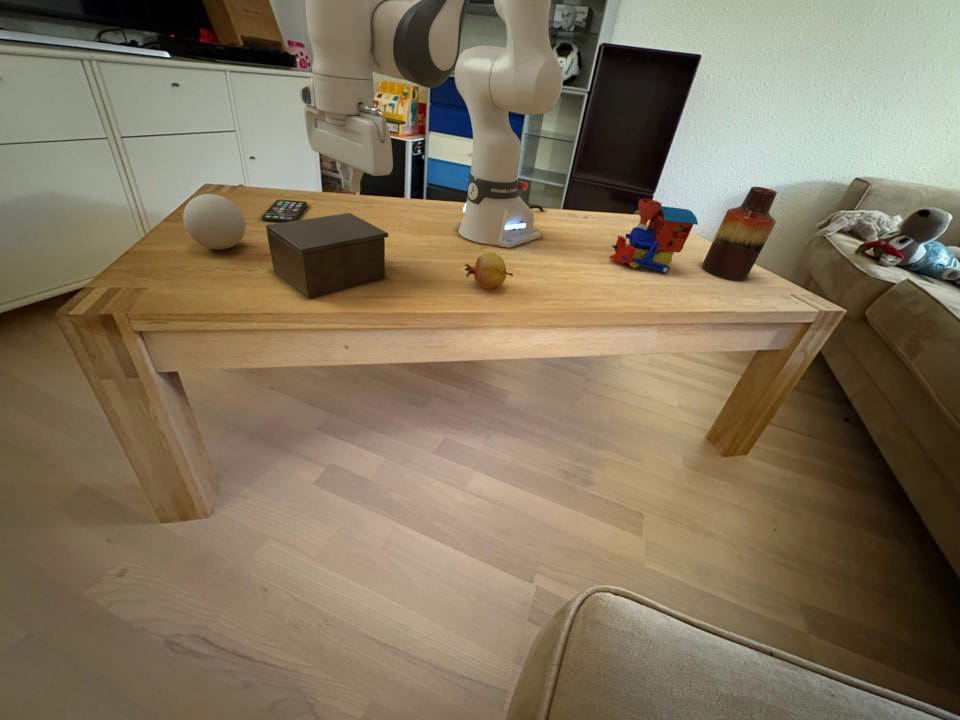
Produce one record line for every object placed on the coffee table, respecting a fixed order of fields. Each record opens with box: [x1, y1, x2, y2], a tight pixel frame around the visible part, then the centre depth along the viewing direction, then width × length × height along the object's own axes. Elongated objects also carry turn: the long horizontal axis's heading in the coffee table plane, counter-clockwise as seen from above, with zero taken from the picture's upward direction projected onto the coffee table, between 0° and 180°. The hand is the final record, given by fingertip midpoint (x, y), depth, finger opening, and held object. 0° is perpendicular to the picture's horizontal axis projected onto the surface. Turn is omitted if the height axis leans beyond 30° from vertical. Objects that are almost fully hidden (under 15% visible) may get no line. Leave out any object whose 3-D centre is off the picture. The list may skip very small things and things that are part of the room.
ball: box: [182, 193, 246, 250], centre depth 79 cm, size 10×10×10 cm
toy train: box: [608, 198, 699, 274], centre depth 99 cm, size 10×16×15 cm, turn 93°
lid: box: [265, 212, 389, 254], centre depth 73 cm, size 16×13×1 cm
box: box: [266, 229, 386, 299], centre depth 76 cm, size 16×13×8 cm
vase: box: [701, 186, 778, 282], centre depth 101 cm, size 11×11×20 cm
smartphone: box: [261, 199, 308, 223], centre depth 102 cm, size 7×1×15 cm
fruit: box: [463, 252, 514, 290], centre depth 80 cm, size 7×7×10 cm
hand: (351, 190), depth 73 cm, fingers closed
